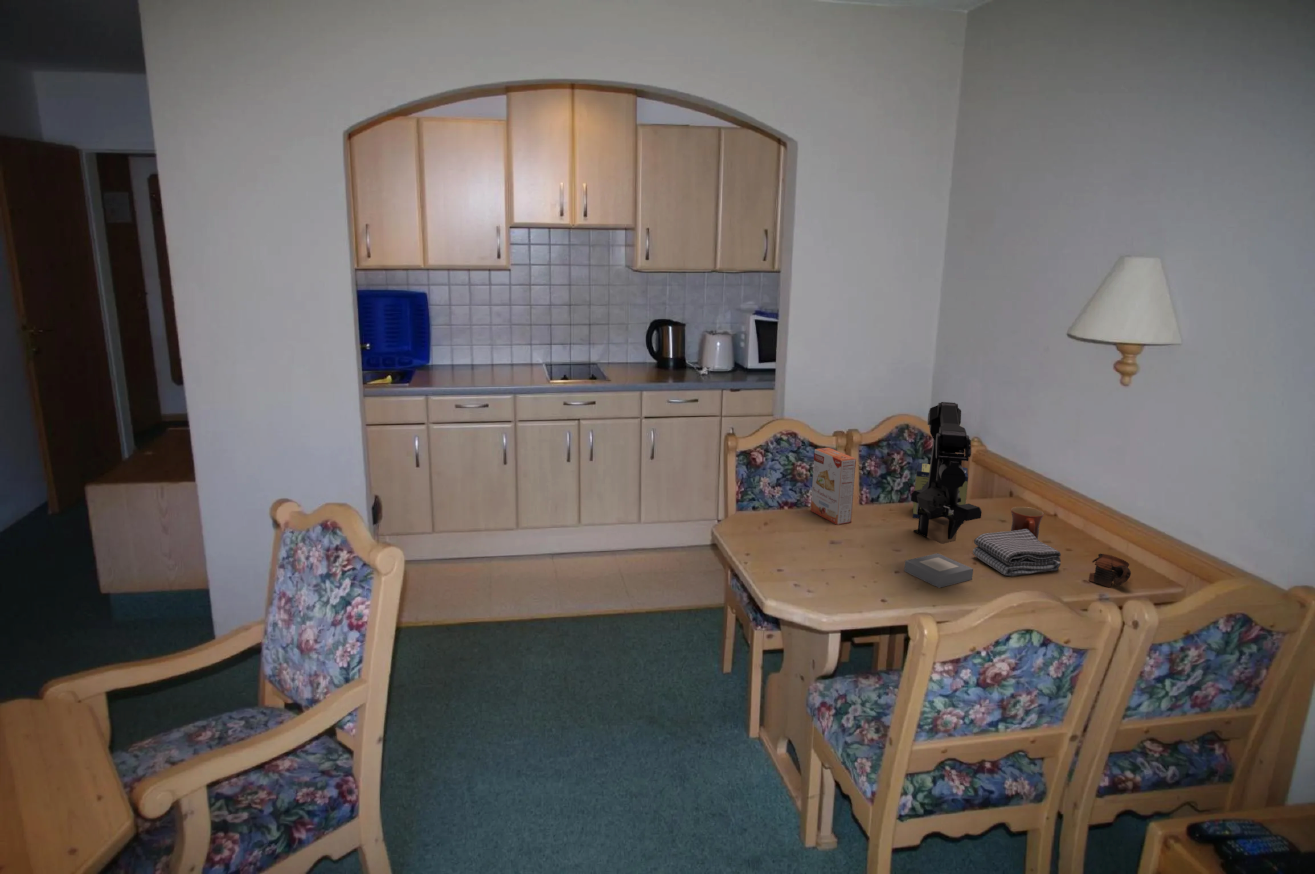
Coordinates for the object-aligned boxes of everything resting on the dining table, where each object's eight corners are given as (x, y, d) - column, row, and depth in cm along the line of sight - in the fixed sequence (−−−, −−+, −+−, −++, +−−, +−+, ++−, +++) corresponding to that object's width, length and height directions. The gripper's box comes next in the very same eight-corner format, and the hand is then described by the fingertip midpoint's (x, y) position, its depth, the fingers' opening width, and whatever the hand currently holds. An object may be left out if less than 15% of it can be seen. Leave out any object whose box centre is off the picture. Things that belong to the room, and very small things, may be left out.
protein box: (912, 508, 277) (917, 462, 273) (963, 514, 272) (968, 467, 269) (911, 518, 267) (916, 470, 264) (964, 524, 263) (969, 476, 259)
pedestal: (904, 571, 225) (905, 559, 224) (936, 563, 231) (937, 552, 230) (938, 587, 215) (940, 576, 214) (971, 579, 220) (973, 568, 220)
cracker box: (809, 511, 271) (813, 448, 266) (824, 509, 274) (829, 446, 269) (835, 525, 259) (840, 459, 254) (851, 523, 261) (857, 457, 256)
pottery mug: (1077, 578, 224) (1088, 549, 225) (1104, 592, 226) (1115, 563, 227) (1111, 585, 213) (1123, 554, 214) (1140, 599, 215) (1151, 569, 215)
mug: (1004, 538, 251) (1008, 505, 249) (1035, 541, 249) (1040, 507, 247) (1012, 552, 240) (1016, 518, 237) (1045, 555, 238) (1050, 521, 236)
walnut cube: (927, 537, 221) (929, 519, 220) (940, 534, 224) (942, 516, 222) (941, 543, 217) (943, 525, 216) (955, 540, 219) (957, 522, 218)
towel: (969, 558, 236) (972, 531, 234) (1024, 552, 241) (1028, 526, 239) (1005, 579, 222) (1009, 551, 220) (1063, 573, 227) (1067, 545, 225)
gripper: (898, 472, 220) (892, 529, 224) (954, 491, 205) (947, 552, 208) (929, 467, 226) (923, 523, 229) (986, 486, 210) (979, 545, 214)
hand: (941, 535), depth 220 cm, fingers closed on walnut cube, 5 cm apart
